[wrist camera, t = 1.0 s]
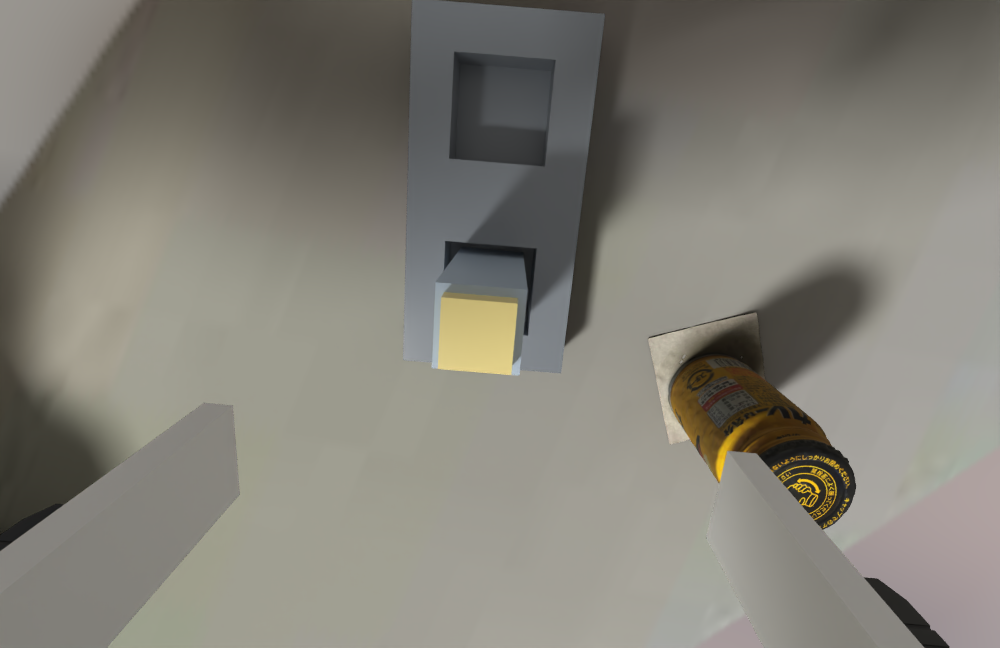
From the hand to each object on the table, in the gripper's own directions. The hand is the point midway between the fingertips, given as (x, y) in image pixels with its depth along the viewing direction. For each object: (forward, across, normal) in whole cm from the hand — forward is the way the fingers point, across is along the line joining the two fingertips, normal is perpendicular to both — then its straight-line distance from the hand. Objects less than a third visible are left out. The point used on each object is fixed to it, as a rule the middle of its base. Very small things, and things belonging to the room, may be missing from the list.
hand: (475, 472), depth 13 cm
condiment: (+22, +15, -5) cm, 27 cm away
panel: (+21, -1, +6) cm, 22 cm away
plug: (+21, -1, +1) cm, 21 cm away
